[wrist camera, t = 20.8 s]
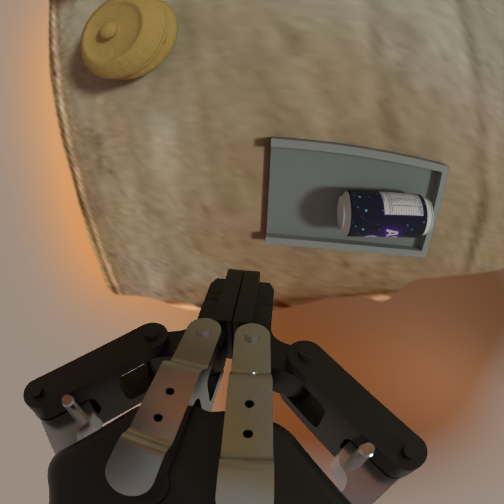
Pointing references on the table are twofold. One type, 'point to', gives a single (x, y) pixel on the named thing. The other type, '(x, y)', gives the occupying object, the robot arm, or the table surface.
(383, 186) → the gray tray
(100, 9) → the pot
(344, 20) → the table surface
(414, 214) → the beverage can
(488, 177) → the table surface
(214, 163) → the table surface
